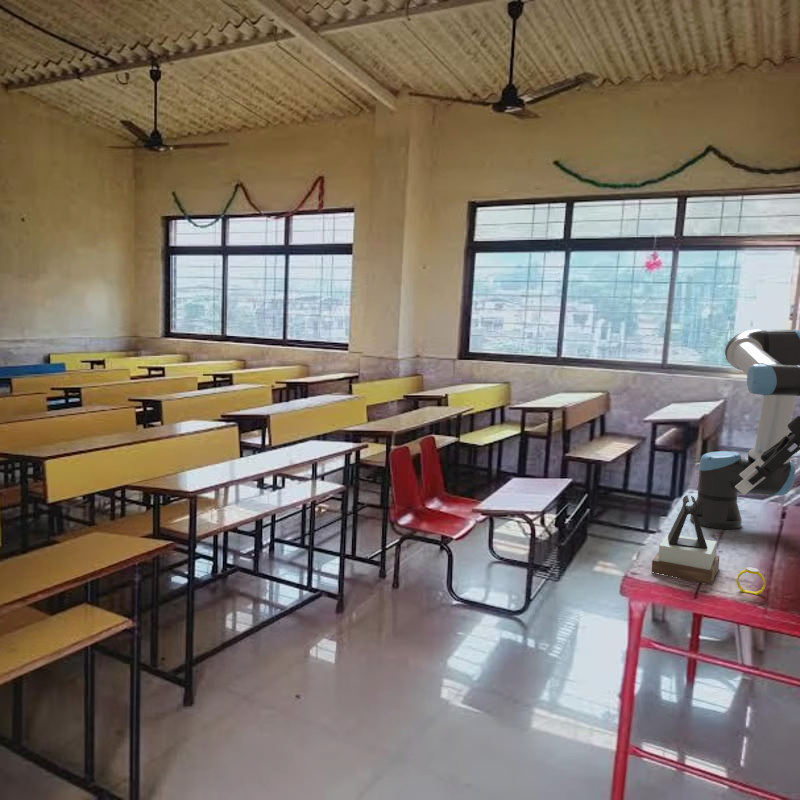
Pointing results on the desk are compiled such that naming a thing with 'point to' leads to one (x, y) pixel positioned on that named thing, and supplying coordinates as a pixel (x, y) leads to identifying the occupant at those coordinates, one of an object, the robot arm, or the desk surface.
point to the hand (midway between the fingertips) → (741, 484)
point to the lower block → (686, 570)
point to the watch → (752, 571)
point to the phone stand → (678, 526)
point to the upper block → (688, 554)
